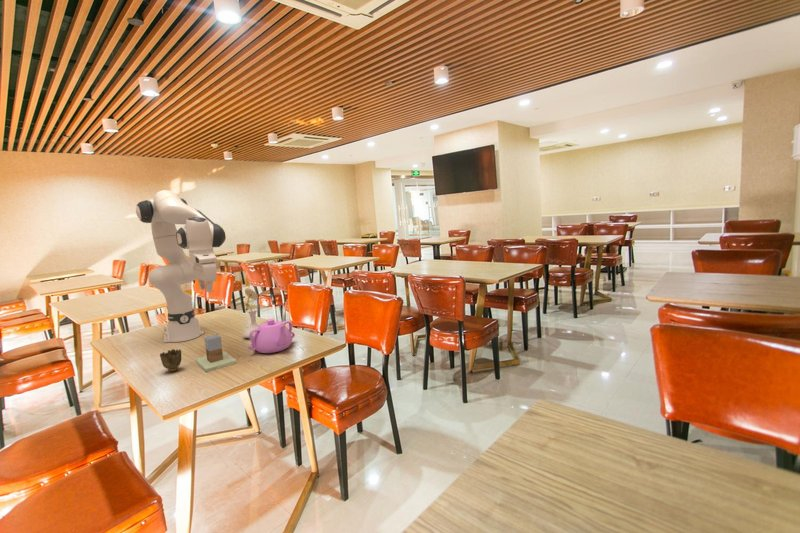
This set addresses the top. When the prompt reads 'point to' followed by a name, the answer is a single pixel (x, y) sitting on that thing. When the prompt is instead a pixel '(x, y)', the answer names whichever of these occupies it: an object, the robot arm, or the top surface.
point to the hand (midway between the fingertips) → (206, 290)
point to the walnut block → (214, 355)
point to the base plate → (215, 365)
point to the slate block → (213, 342)
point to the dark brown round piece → (171, 359)
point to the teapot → (271, 337)
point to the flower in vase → (251, 313)
